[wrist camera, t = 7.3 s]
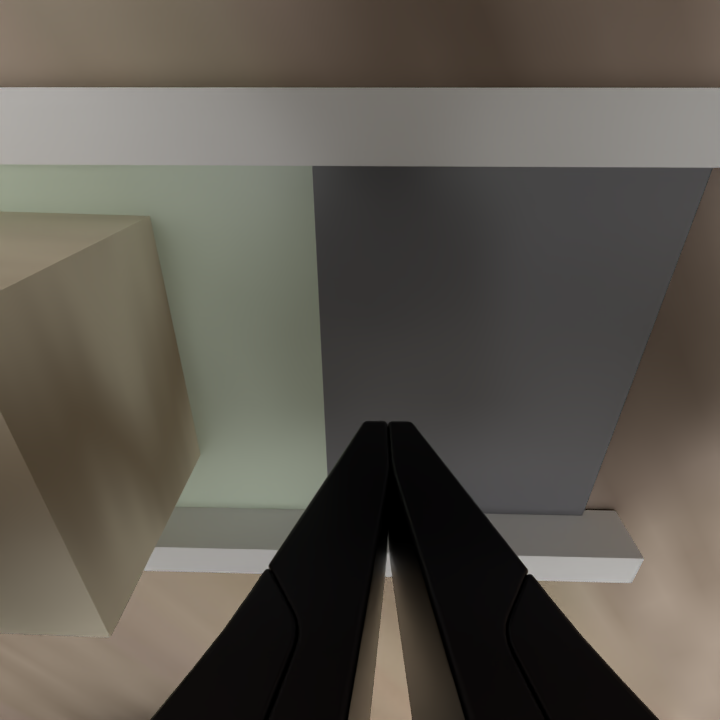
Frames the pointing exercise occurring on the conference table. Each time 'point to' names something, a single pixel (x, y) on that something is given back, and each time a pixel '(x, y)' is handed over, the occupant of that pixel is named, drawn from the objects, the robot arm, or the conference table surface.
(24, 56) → the conference table surface
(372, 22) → the conference table surface
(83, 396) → the birch block
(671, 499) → the conference table surface
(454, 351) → the trap lane
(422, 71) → the conference table surface
